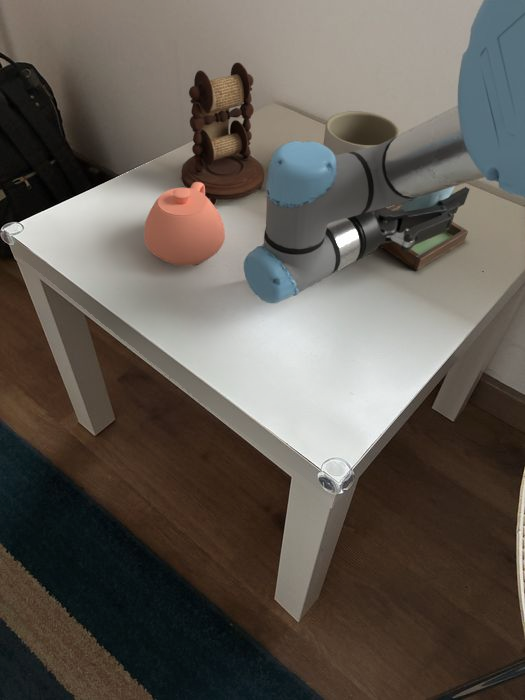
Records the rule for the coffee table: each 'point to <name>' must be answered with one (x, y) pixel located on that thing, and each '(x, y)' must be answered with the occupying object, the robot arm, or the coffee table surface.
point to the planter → (357, 131)
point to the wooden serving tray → (427, 246)
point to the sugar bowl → (184, 226)
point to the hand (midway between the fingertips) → (445, 184)
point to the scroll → (222, 137)
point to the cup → (427, 200)
